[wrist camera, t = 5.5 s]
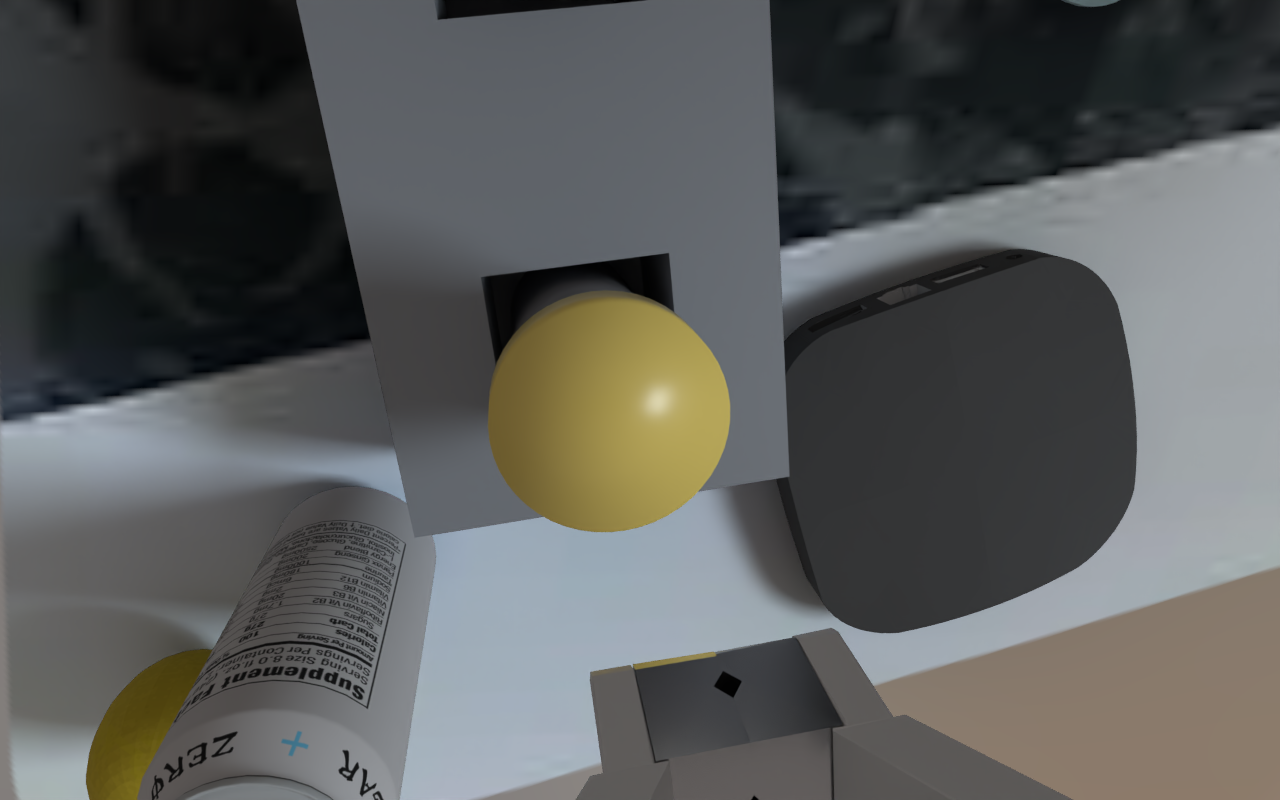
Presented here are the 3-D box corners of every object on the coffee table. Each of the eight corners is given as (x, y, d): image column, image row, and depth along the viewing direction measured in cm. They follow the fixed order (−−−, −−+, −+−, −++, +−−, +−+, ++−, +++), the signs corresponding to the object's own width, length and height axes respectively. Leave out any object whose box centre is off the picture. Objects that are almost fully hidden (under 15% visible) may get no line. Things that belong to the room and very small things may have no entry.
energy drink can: (284, 612, 33) (121, 978, 19) (275, 475, 31) (86, 768, 17) (438, 609, 34) (391, 954, 20) (438, 476, 32) (387, 753, 18)
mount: (689, -249, 26) (753, -376, 19) (732, 405, 33) (789, 476, 26) (295, -227, 24) (218, -355, 18) (433, 451, 32) (414, 537, 25)
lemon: (295, 614, 33) (234, 758, 25) (290, 726, 35) (231, 893, 27) (146, 605, 32) (36, 754, 24) (147, 722, 33) (44, 895, 26)
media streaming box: (814, 627, 38) (839, 667, 35) (735, 338, 32) (757, 358, 30) (1105, 521, 38) (1152, 553, 36) (1073, 220, 33) (1125, 230, 30)
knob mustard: (641, 225, 29) (722, 287, 18) (655, 375, 31) (737, 511, 20) (481, 245, 28) (468, 321, 17) (506, 397, 30) (508, 550, 19)
